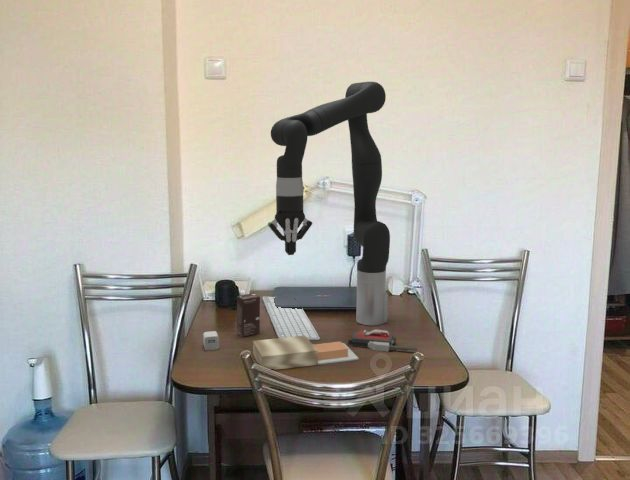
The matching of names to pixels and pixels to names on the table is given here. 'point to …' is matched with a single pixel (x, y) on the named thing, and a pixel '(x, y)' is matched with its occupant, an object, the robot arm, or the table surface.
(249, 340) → the table surface
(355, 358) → the mat
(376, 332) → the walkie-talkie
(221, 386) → the table surface
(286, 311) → the keyboard
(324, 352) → the tile
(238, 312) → the box
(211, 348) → the usb wall charger
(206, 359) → the table surface
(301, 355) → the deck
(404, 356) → the table surface
